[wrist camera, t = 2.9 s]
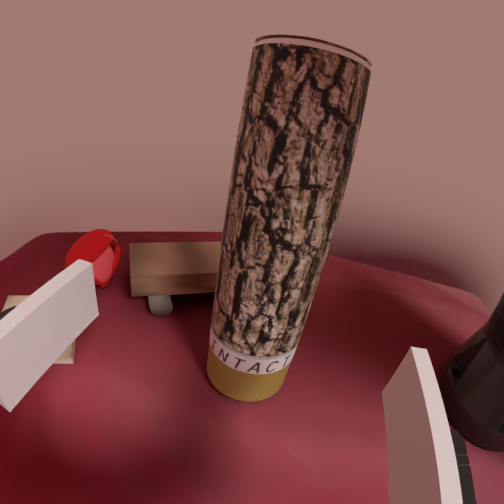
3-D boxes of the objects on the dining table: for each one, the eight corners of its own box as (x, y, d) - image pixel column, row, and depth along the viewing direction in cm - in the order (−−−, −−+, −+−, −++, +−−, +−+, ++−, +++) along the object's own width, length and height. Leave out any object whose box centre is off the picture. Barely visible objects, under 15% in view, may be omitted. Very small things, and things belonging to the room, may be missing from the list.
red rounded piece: (118, 237, 37) (79, 217, 34) (132, 241, 33) (86, 218, 29) (95, 293, 36) (55, 276, 32) (105, 305, 32) (59, 287, 28)
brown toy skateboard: (278, 269, 44) (285, 239, 41) (307, 305, 37) (317, 272, 35) (130, 276, 36) (129, 241, 34) (133, 321, 29) (130, 281, 27)
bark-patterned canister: (214, 342, 29) (259, 53, 18) (283, 355, 28) (357, 74, 17) (198, 396, 22) (247, 27, 11) (281, 411, 22) (388, 58, 11)
